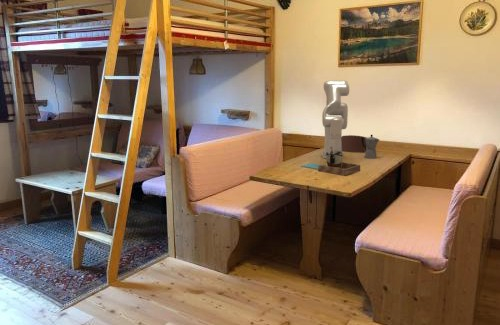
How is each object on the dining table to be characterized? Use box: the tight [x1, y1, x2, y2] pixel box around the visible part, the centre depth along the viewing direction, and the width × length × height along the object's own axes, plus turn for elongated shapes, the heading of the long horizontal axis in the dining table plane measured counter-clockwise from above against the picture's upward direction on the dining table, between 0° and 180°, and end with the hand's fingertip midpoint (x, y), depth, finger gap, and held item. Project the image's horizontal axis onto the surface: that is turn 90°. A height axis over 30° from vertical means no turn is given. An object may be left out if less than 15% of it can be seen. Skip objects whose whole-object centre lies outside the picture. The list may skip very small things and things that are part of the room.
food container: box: [325, 151, 344, 169], centre depth 277 cm, size 12×6×10 cm, turn 63°
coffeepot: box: [361, 134, 380, 160], centre depth 315 cm, size 15×9×18 cm, turn 44°
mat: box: [300, 162, 327, 170], centre depth 289 cm, size 16×12×1 cm
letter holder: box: [341, 134, 367, 154], centre depth 342 cm, size 10×20×14 cm, turn 67°
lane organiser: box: [317, 161, 361, 177], centre depth 275 cm, size 21×18×4 cm
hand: (334, 162), depth 277 cm, fingers closed on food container, 6 cm apart
